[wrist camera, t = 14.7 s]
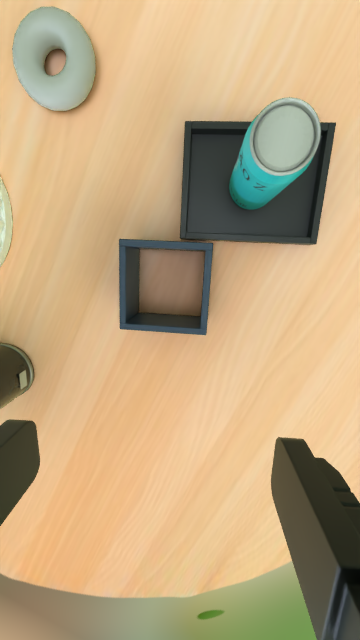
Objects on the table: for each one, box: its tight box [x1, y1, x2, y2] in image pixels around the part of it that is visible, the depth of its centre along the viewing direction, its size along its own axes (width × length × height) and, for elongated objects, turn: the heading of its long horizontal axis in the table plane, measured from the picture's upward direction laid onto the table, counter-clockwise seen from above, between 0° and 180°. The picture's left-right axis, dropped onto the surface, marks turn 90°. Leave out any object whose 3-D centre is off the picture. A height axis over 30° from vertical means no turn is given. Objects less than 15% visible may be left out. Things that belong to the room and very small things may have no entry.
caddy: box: [119, 239, 213, 335], centre depth 35 cm, size 11×11×7 cm
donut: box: [12, 7, 96, 111], centre depth 32 cm, size 10×3×10 cm
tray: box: [180, 121, 336, 245], centre depth 34 cm, size 18×14×2 cm
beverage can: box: [229, 97, 321, 210], centre depth 27 cm, size 6×6×15 cm
